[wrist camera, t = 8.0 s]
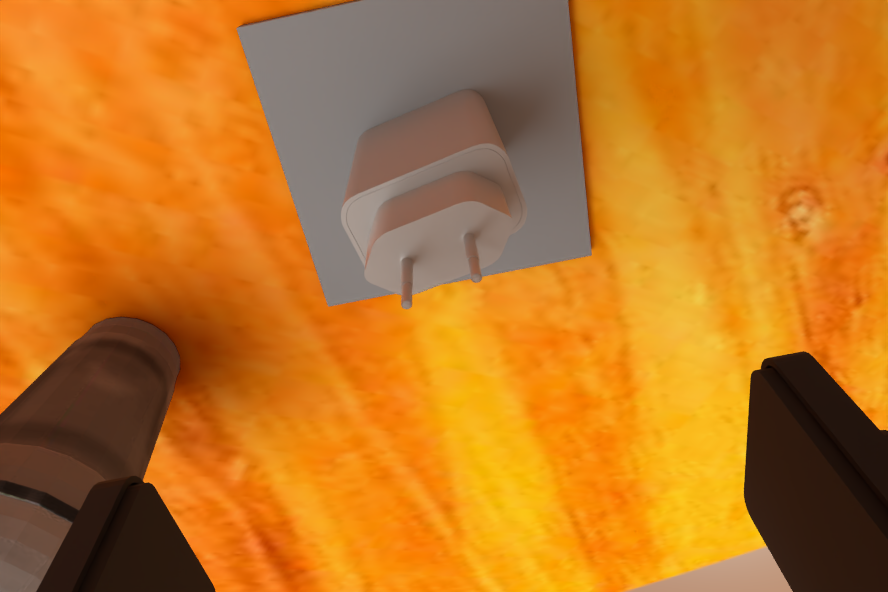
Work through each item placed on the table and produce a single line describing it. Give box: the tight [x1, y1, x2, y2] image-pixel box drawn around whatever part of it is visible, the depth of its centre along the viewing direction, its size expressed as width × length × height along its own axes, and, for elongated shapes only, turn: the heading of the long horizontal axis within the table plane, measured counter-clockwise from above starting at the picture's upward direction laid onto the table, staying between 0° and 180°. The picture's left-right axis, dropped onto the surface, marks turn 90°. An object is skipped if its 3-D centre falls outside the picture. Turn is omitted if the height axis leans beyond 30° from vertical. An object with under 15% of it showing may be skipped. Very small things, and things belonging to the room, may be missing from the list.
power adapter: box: [341, 89, 527, 309], centre depth 21 cm, size 3×5×12 cm, turn 112°
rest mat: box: [237, 0, 592, 306], centre depth 27 cm, size 12×12×1 cm
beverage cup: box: [0, 317, 180, 592], centre depth 23 cm, size 7×7×20 cm
